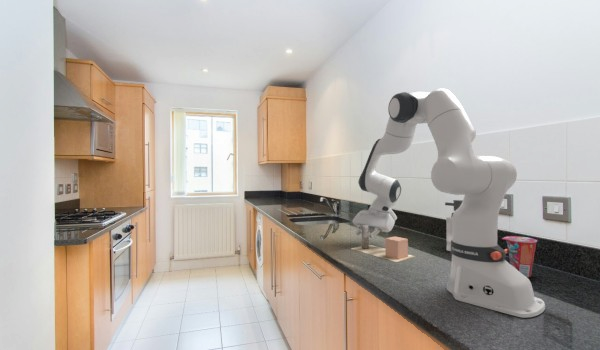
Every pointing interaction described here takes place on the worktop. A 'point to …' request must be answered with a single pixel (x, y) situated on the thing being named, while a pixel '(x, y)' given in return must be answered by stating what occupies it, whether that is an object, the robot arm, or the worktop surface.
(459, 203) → the soap dispenser
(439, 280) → the worktop surface
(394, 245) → the terracotta block
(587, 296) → the worktop surface
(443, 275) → the worktop surface
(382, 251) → the birch strip
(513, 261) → the cup
